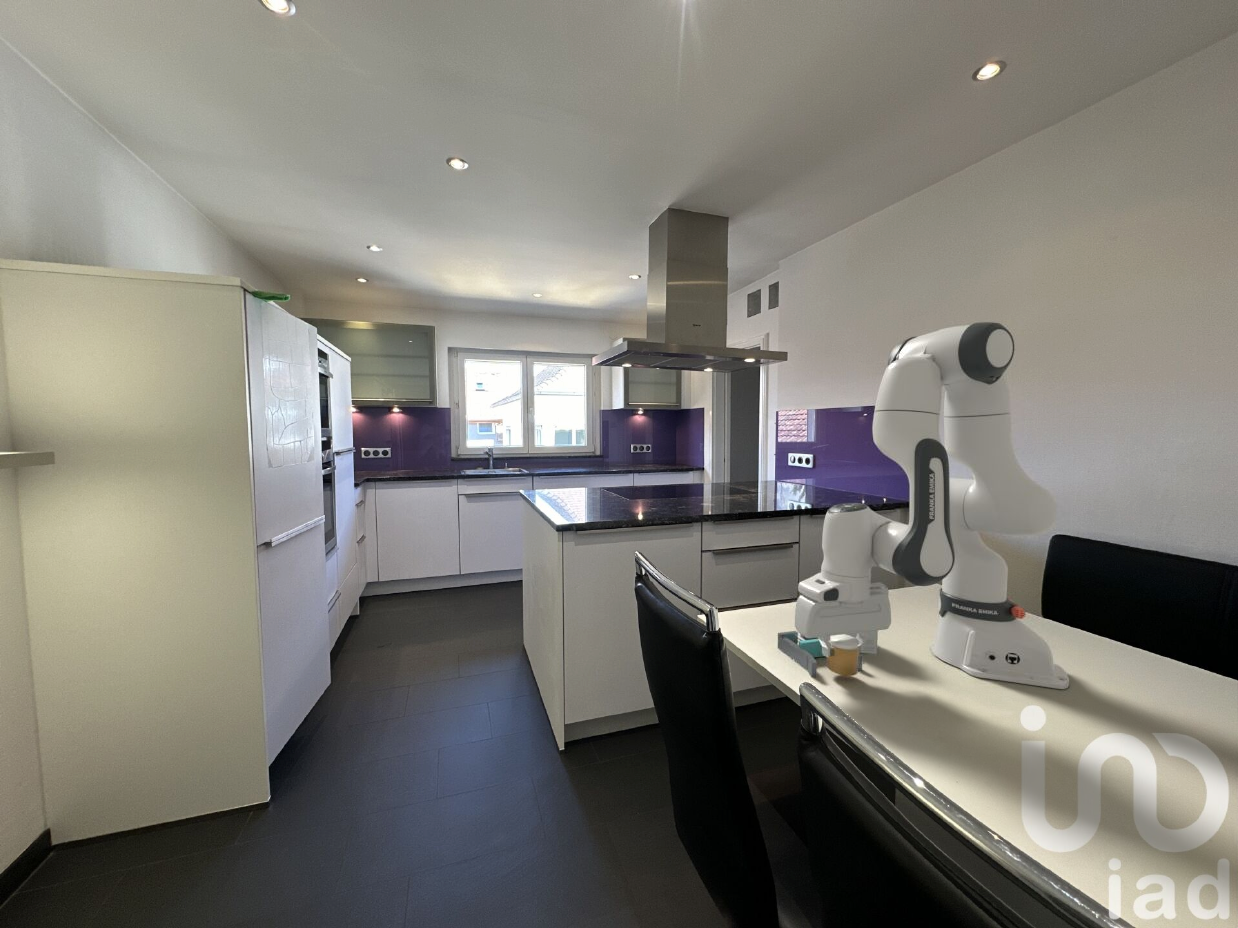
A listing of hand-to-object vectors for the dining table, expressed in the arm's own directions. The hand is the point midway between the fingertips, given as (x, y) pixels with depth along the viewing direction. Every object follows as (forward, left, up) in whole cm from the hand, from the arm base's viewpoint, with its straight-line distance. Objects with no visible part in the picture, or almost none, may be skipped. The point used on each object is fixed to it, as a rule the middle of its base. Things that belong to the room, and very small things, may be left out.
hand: (842, 653), depth 92 cm
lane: (+5, -6, -5) cm, 9 cm away
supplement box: (-1, -17, -5) cm, 18 cm away
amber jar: (0, 0, -3) cm, 3 cm away
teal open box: (+8, -9, -5) cm, 13 cm away
